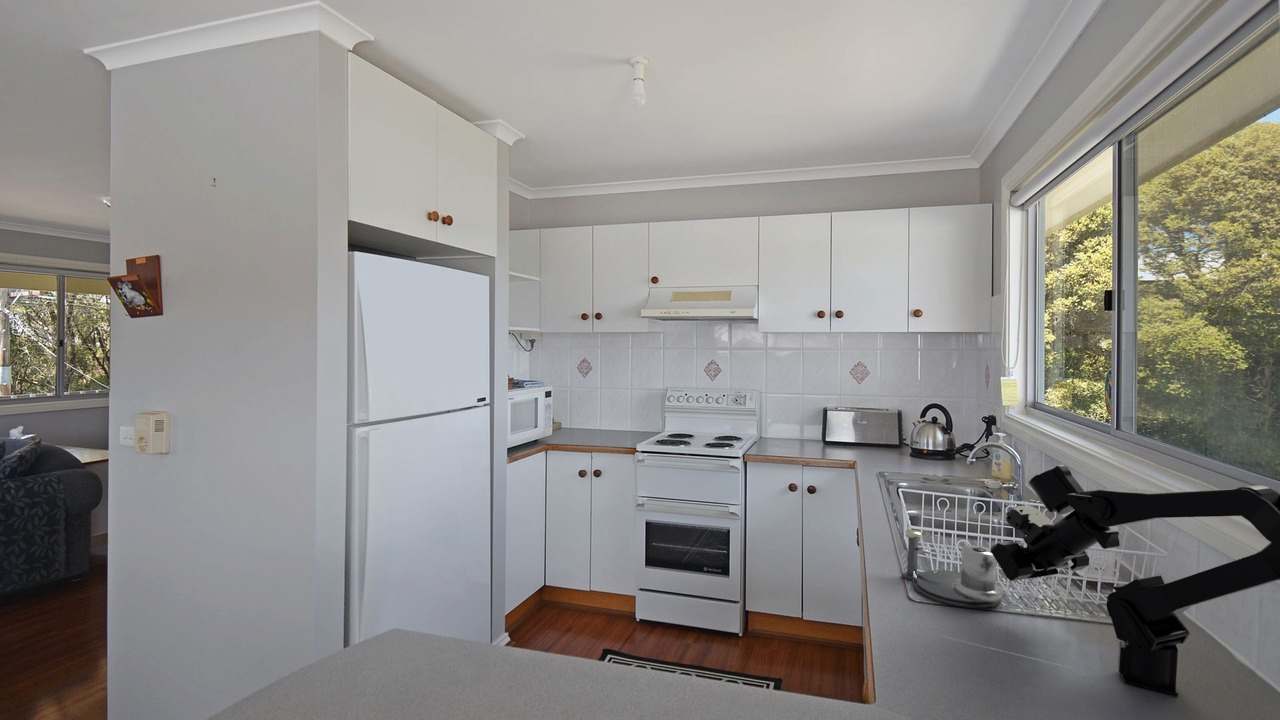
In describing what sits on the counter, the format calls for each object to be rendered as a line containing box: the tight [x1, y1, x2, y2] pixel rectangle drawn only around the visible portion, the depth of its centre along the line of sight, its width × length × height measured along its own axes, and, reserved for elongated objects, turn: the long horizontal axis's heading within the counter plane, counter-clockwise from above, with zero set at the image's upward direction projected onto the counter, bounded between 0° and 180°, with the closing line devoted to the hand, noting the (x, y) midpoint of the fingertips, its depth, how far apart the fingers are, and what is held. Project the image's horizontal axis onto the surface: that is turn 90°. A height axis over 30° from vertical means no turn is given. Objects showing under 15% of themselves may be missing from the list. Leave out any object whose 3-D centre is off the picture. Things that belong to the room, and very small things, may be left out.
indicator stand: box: [901, 529, 932, 581], centre depth 140 cm, size 5×3×10 cm, turn 40°
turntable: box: [913, 569, 1002, 610], centre depth 134 cm, size 16×16×2 cm
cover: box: [954, 544, 1003, 602], centre depth 128 cm, size 8×8×9 cm
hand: (1009, 577), depth 123 cm, fingers closed
